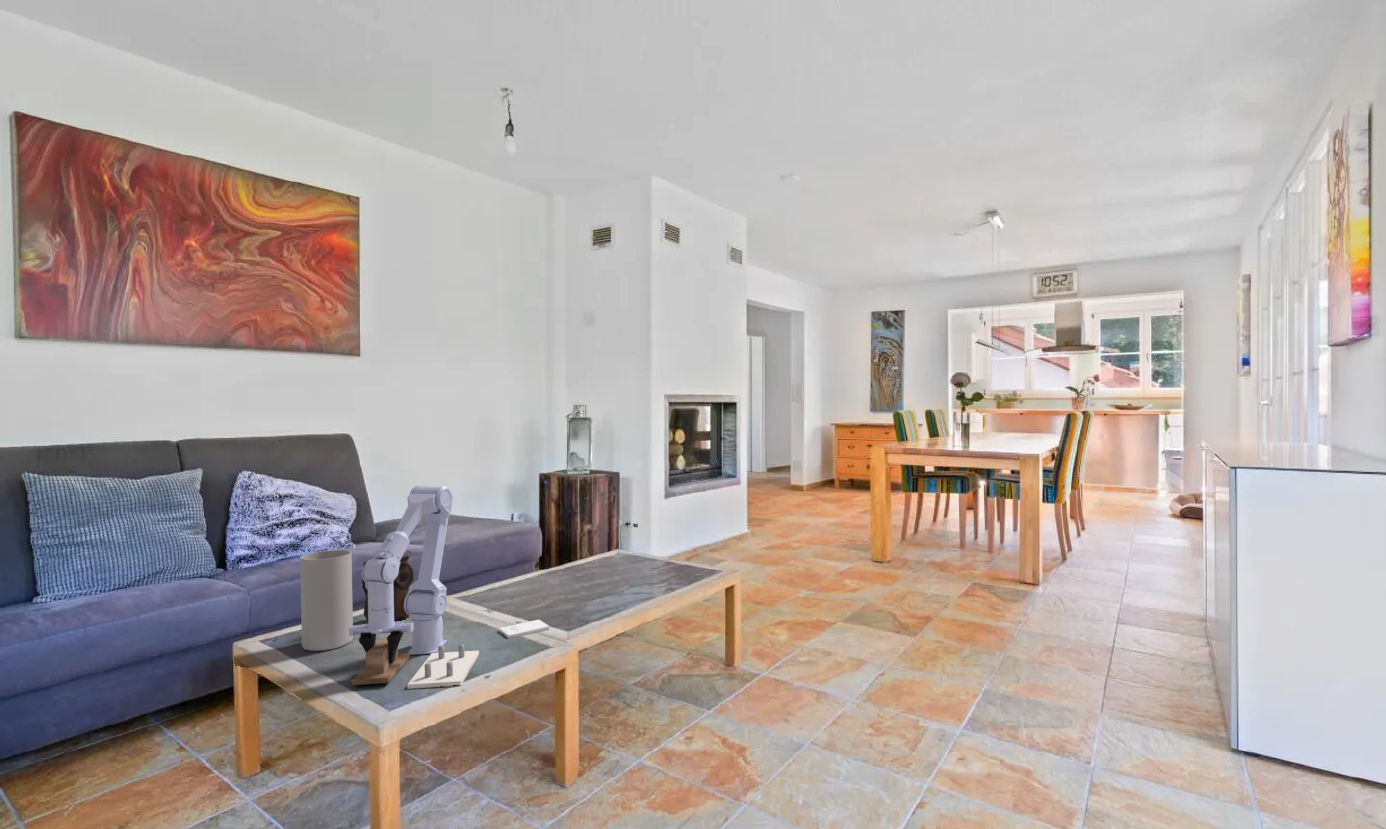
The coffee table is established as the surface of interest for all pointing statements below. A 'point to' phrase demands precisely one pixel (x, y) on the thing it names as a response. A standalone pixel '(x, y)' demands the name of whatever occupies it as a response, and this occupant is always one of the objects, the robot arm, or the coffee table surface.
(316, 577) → the cylinder vase
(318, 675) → the coffee table surface
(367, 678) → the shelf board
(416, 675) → the peg base
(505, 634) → the external hard drive
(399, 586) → the owl
